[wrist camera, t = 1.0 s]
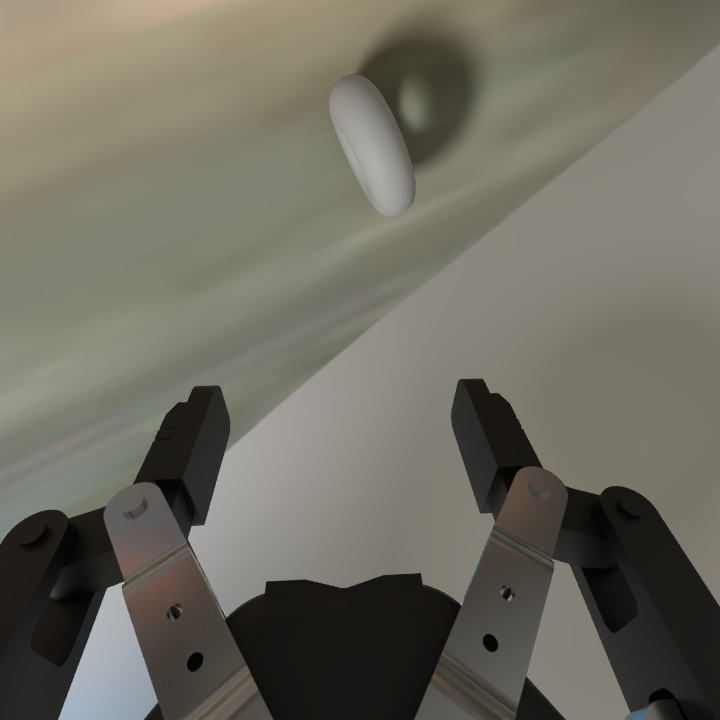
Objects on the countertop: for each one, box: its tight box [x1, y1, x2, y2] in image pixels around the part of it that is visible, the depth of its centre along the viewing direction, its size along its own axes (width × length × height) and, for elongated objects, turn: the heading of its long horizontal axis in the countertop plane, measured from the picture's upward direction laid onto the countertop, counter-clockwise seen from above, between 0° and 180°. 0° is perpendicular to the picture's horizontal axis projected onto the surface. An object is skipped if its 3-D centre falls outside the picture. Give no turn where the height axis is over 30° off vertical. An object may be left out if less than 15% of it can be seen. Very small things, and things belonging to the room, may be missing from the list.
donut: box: [329, 74, 415, 217], centre depth 29 cm, size 10×4×10 cm, turn 25°
